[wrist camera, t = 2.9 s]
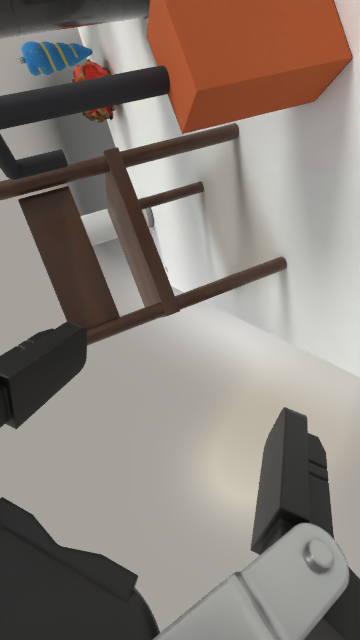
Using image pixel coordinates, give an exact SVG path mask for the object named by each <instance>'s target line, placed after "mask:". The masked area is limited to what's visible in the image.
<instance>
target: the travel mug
mask: <svg viewBox="0 0 360 640" xmlns="http://www.w3.org/2000/svg"><path fill="white" fill-rule="evenodd" d="M142 212H143V214H144V217H145V220H146V222H147V225H148V227H149V228H150V227H152V226H153V224H154V221H153V215H152V211H151V208H147V209H143V210H142ZM80 217H81V219H82V222H83V224H84V227H85V229H86V232H87V234H88V237H89V239H90V242H91V245H92V246H93V245H96V244H99V243H102V242H105V241H108V240H112V239H115V238H118V236H117V234H116V231H115V228H114V226H113V223H112V221H111V218H110V216H109V213H108V209H105V210H101V211H98V212H95V213H91V214H87V215H84V216H80Z"/></svg>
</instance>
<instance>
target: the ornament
mask: <svg viewBox="0 0 360 640" xmlns="http://www.w3.org/2000/svg"><path fill="white" fill-rule="evenodd" d="M22 52H23V55H24V57H20V58H19V59H20V62H21V63H26V64H27V66H28V69H29V71H30V72H31V74H33V75H35V76H37V75H40V74H41V73H44V74H46V75H49V74H51V73H53V72H54V71H55V70H56V71H61V70H63V69H64V68H66V67H67V66H74V65H76V64H77V63H78V62H80V61H82V60H83V59H85V58H86V57H88V56H89V55H91V54H92V50H91V49H89V48H86V47H83V46H80V45H78V44H75V43H71V44H69V45H67V44H64V43H56V44H52V43H49V42H42V43H36V42H27V43H25V44H24V45H23V46H22Z"/></svg>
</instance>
